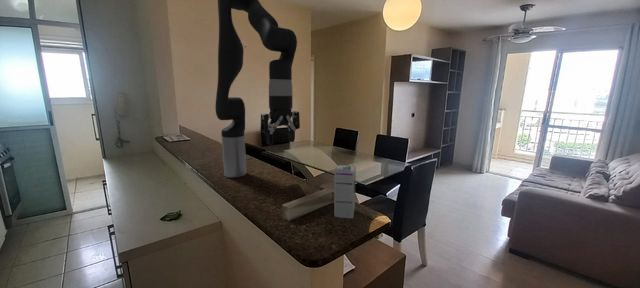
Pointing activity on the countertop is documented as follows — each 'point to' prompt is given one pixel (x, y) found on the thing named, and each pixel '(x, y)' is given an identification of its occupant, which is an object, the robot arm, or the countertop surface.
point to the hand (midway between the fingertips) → (281, 143)
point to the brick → (295, 192)
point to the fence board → (306, 204)
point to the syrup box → (344, 191)
